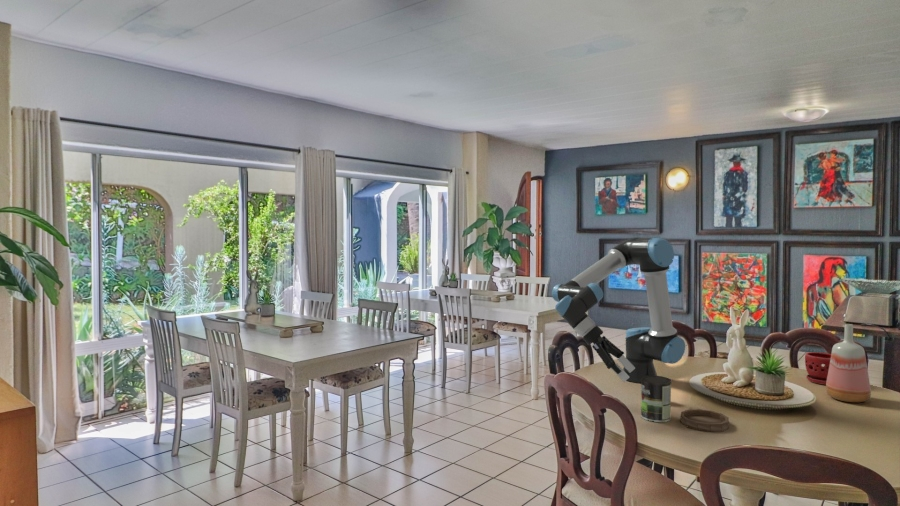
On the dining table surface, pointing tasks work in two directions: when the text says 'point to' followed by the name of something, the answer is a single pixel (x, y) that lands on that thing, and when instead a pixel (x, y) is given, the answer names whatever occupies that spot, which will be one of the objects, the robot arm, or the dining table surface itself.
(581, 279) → the robot arm
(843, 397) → the vase
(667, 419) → the coffee can
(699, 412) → the tray
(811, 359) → the plant pot
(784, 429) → the dining table surface
